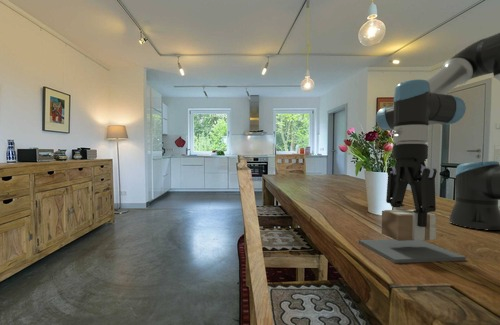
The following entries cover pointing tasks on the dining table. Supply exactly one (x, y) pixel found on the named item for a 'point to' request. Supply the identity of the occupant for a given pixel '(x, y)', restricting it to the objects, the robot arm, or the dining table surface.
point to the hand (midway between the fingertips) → (407, 235)
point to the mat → (410, 251)
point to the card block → (405, 225)
